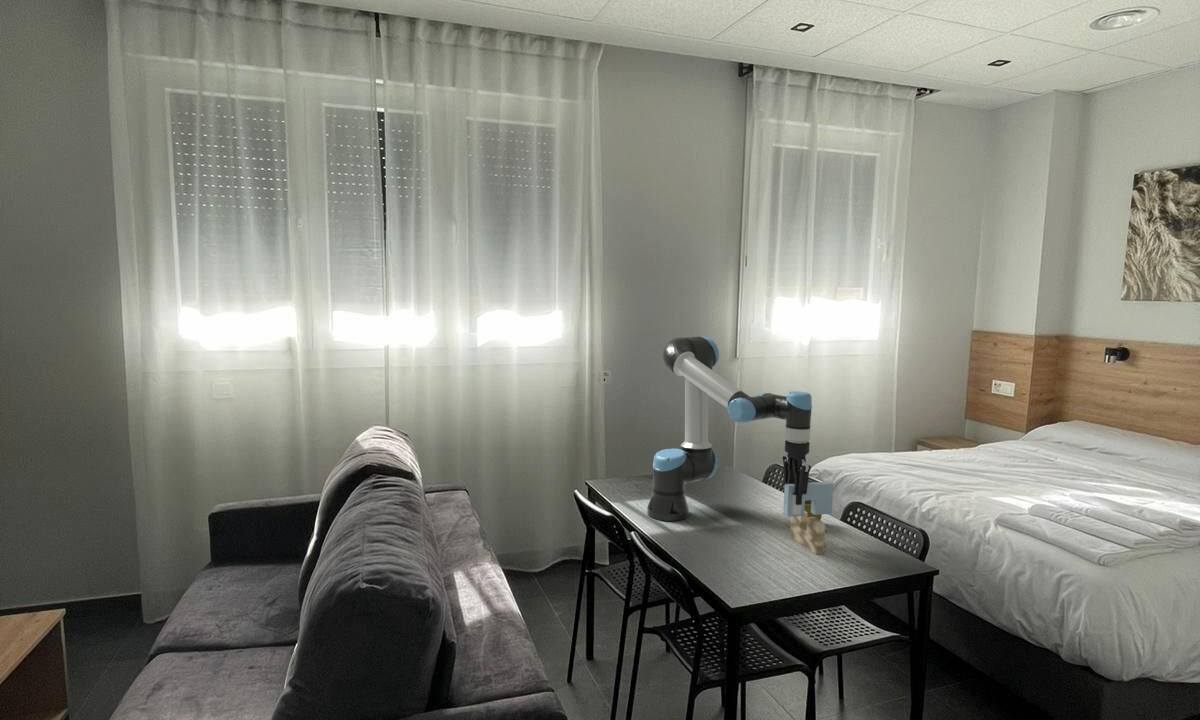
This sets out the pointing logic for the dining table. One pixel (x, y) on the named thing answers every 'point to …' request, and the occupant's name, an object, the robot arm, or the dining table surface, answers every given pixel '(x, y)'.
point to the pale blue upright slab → (810, 498)
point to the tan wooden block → (808, 532)
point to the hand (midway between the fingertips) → (793, 511)
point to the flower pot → (808, 510)
